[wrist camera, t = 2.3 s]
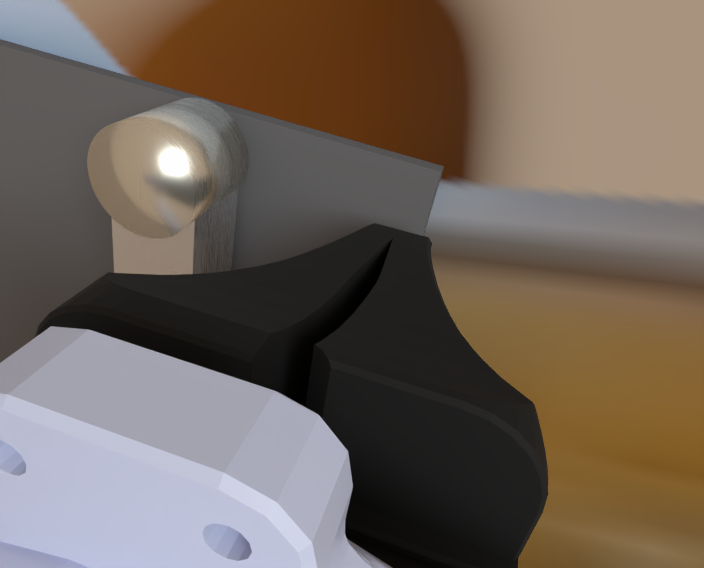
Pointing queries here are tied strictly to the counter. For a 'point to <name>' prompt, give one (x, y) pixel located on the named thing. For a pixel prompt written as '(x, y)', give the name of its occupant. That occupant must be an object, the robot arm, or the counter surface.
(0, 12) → the counter surface
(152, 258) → the lever
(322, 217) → the lock plate
